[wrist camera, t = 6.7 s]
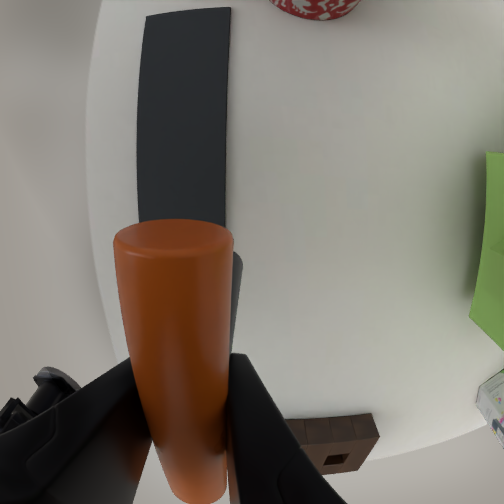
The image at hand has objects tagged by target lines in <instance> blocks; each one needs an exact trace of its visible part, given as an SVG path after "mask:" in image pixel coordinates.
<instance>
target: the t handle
mask: <svg viewBox="0 0 504 504" xmlns="http://www.w3.org/2000/svg"><path fill="white" fill-rule="evenodd" d="M233 245H234V239H233V236H232V233H231V232H230V231H229V230H228V229H226V228H224V227H222V226H220V225H217V224H214V223H210V222H205V221H199V220H190V219H161V220H152V221H146V222H141V223H137V224H134V225H131V226H128V227H126V228H124V229H122V230H120V231H119V232H118V233H117V234H116V235H115V238H114V241H113V247H114V258H115V268H116V277H117V285H118V293H119V300H120V306H121V313H122V319H123V325H124V330H125V336H126V341H127V346H128V351H129V355H130V360H131V365H132V369H133V373H134V377H135V381H136V385H137V389H138V393H139V397H140V401H141V404H142V408H143V411H144V415H145V418H146V421H147V424H148V428H149V431H150V434H151V437H152V440H153V443H154V446H155V449H156V451H157V454H158V457H159V460H160V463H161V465H162V468H163V470H164V473H165V476H166V478H167V481H168V483H169V485H170V488H171V490H172V492H173V493H174V495H175V496H176V497H177V498H179V499H180V500H182V501H183V502H186V503H188V504H211V503H213V502H215V501H217V500H218V499H220V498H221V497H222V496H223V494H224V493H225V490H226V487H227V486H226V485H227V459H226V400H227V395H228V375H229V356H230V354H231V351H232V343H233V336H234V328H235V321H236V314H237V306H238V299H239V291H240V284H241V277H242V270H243V263H242V260H241V258H240V256H239V255H238V254H237V253H235V252H234V251H233Z"/></svg>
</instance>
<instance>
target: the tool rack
mask: <svg viewBox="0 0 504 504" xmlns="http://www.w3.org/2000/svg"><path fill="white" fill-rule="evenodd" d="M285 421H286V422H287V424H288V426H289V427H290V429H291V430H292V432H293V434H294V435H295V437H296V438H297V440H298V441H299V443H300V445H301V448H303V449H304V451H305V452H306V454H307V455H308V457H309V458H310V460H311V461H312V463H313V464H314V465H315V467H316V468H317V469H318V471H319V472H320V474H321V475H327V474H336V473H344V472H351V471H357V470H358V469H359V468H360V466H361V465H362V464H363V462H364V461H365V459H366V458H367V456H368V455H369V453H370V452H371V450H372V449H373V447H374V445H375V444H376V442H377V441H378V439H379V437H380V435H379V433H378V430H377V427H376V425H375V422H374V419H373V417H372V414H363V415H354V416H343V417H331V418H316V419H290V420H285Z"/></svg>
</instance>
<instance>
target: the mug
mask: <svg viewBox="0 0 504 504" xmlns="http://www.w3.org/2000/svg"><path fill="white" fill-rule="evenodd" d="M270 1H271V2H272V3H273V4H274V5H276V6H277V7H279V8H280V9H282V10H283V11H285V12H288V13H290V14H293V15H295V16H298V17H302V18H306V19H313V20H330V19H335V18H339V17H341V16H344V15H346V14H347V13H349V12H350V11H351V10H352V9H353V8H354V7H355V6H356V5H357V4H358V3H359V2H360V1H361V0H270Z"/></svg>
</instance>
